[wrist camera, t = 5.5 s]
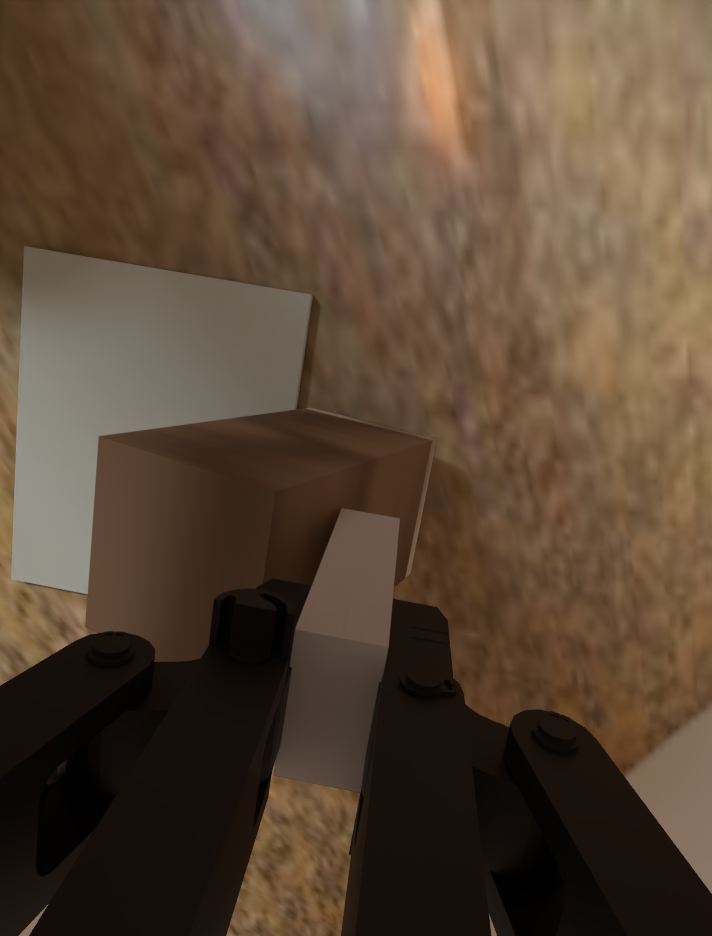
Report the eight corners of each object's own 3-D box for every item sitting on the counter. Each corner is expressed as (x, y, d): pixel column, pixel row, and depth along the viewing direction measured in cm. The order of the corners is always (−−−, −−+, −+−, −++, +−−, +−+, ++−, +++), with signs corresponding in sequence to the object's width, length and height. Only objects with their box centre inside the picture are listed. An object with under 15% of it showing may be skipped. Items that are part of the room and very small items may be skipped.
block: (292, 533, 26) (85, 626, 17) (311, 407, 24) (98, 436, 16) (410, 574, 24) (245, 703, 15) (437, 438, 22) (275, 491, 14)
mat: (16, 575, 27) (10, 579, 27) (30, 247, 24) (23, 245, 24) (266, 624, 27) (263, 628, 26) (313, 294, 24) (311, 294, 23)
